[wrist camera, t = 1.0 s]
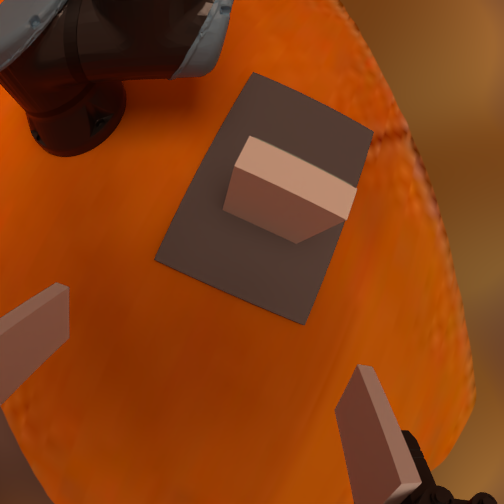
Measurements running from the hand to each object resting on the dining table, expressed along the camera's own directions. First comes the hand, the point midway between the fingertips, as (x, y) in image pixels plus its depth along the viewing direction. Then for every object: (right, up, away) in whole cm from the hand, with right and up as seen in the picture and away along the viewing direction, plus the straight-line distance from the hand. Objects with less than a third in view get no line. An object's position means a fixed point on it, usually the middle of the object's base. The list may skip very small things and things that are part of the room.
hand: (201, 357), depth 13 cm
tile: (+4, +9, +27) cm, 29 cm away
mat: (+5, +13, +29) cm, 32 cm away
